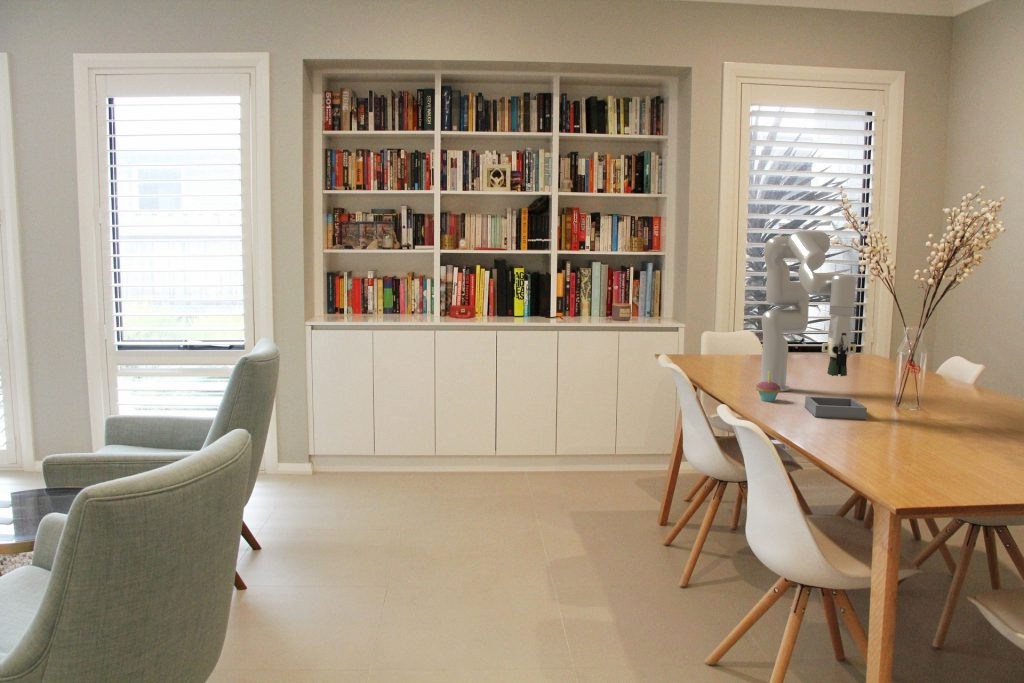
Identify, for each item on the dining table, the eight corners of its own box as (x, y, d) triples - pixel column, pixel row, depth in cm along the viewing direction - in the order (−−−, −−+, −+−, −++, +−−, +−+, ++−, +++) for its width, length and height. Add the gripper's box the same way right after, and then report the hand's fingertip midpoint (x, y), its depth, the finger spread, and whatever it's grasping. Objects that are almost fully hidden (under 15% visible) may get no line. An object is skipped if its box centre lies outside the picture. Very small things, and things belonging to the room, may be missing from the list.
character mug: (822, 377, 262) (825, 338, 260) (817, 373, 269) (820, 336, 267) (856, 378, 260) (859, 340, 258) (850, 375, 267) (853, 337, 265)
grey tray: (804, 407, 275) (805, 396, 274) (852, 409, 273) (853, 398, 272) (815, 417, 259) (815, 405, 259) (865, 419, 257) (866, 408, 256)
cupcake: (781, 403, 281) (783, 370, 280) (756, 402, 283) (758, 369, 282) (778, 398, 290) (780, 366, 288) (754, 397, 291) (756, 365, 290)
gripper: (823, 309, 271) (820, 359, 273) (836, 313, 253) (832, 367, 256) (846, 309, 269) (842, 360, 272) (860, 314, 252) (856, 368, 255)
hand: (837, 363), depth 264 cm, fingers closed on character mug, 7 cm apart
